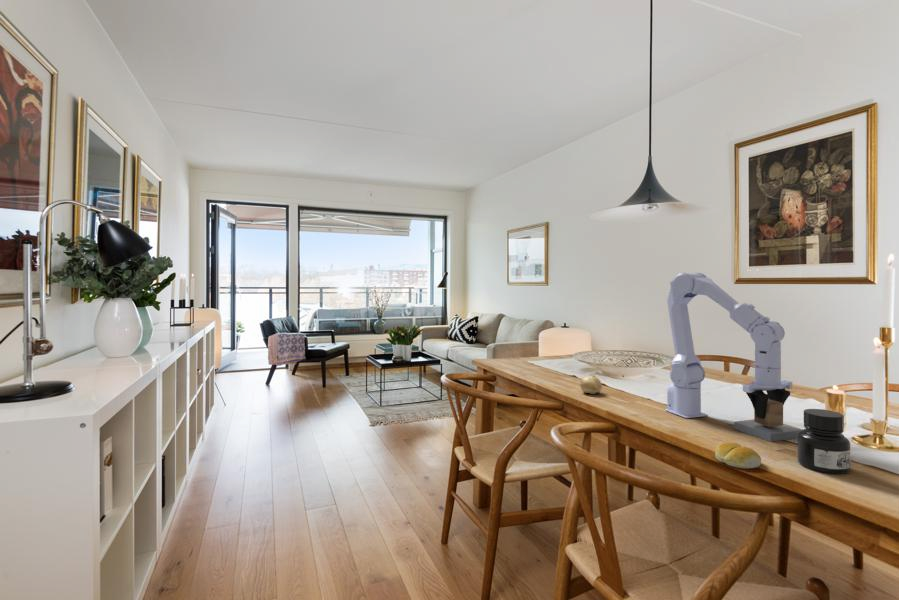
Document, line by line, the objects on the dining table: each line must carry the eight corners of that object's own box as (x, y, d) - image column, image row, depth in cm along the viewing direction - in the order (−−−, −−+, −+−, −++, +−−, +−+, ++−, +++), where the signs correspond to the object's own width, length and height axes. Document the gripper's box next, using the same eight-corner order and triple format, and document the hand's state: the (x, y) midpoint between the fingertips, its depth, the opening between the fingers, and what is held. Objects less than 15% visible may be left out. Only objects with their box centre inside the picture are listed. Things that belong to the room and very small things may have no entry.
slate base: (733, 428, 126) (733, 421, 126) (765, 425, 129) (765, 418, 129) (770, 441, 115) (770, 434, 115) (804, 437, 118) (804, 429, 118)
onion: (605, 395, 166) (604, 376, 166) (583, 396, 167) (583, 377, 166) (598, 390, 174) (598, 372, 174) (577, 391, 175) (577, 372, 174)
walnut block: (754, 421, 123) (754, 400, 123) (767, 420, 124) (767, 398, 124) (769, 426, 119) (769, 404, 119) (783, 425, 120) (783, 403, 120)
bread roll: (734, 453, 109) (734, 436, 109) (768, 467, 100) (768, 449, 100) (705, 456, 107) (705, 440, 107) (737, 471, 98) (737, 453, 98)
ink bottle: (824, 477, 94) (824, 420, 94) (786, 461, 103) (786, 409, 103) (862, 472, 96) (863, 417, 96) (822, 457, 105) (822, 406, 104)
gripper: (759, 371, 116) (759, 423, 116) (803, 367, 119) (803, 418, 120) (736, 366, 123) (736, 416, 123) (778, 363, 126) (778, 411, 127)
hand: (767, 416), depth 122 cm, fingers closed on walnut block, 4 cm apart
